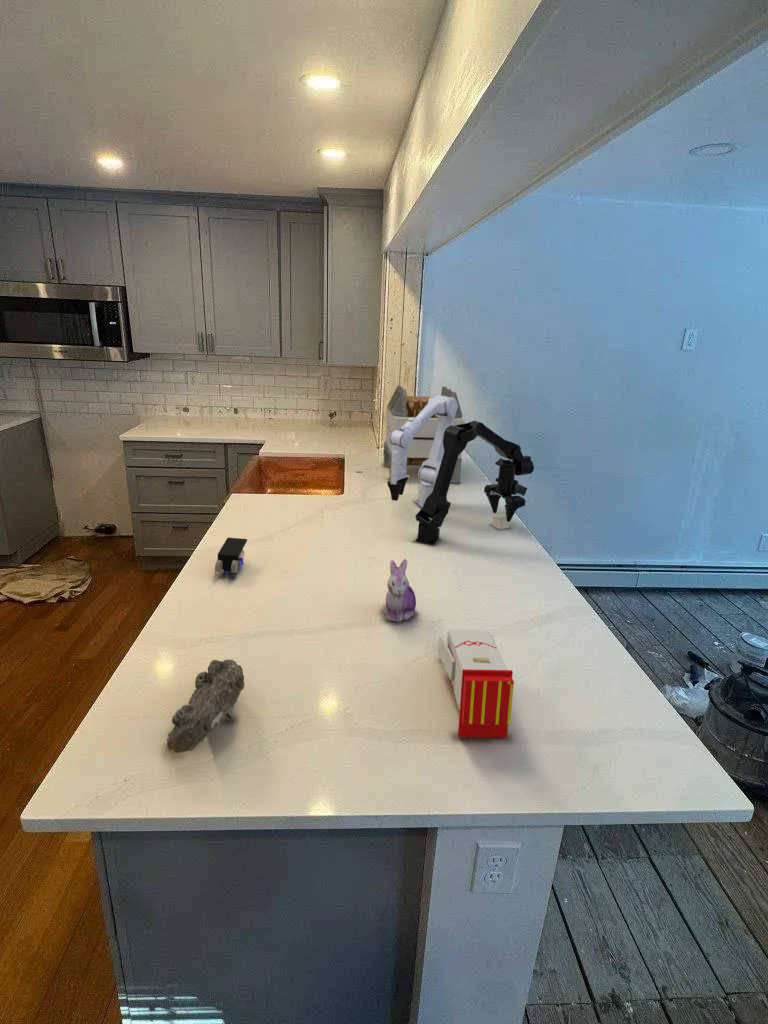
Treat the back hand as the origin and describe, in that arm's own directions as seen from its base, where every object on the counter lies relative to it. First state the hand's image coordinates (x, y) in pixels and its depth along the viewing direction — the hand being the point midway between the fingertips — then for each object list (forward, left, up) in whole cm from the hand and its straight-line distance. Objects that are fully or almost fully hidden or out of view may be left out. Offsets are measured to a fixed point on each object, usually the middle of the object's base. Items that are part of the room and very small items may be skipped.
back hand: (397, 497), depth 216 cm
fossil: (+101, -69, -7) cm, 122 cm away
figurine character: (+37, -62, -7) cm, 73 cm away
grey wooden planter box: (-54, +29, -7) cm, 62 cm away
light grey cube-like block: (+19, +35, -7) cm, 40 cm away
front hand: (+19, +35, -3) cm, 40 cm away
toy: (+105, -17, -7) cm, 107 cm away
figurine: (+72, -22, -7) cm, 75 cm away
